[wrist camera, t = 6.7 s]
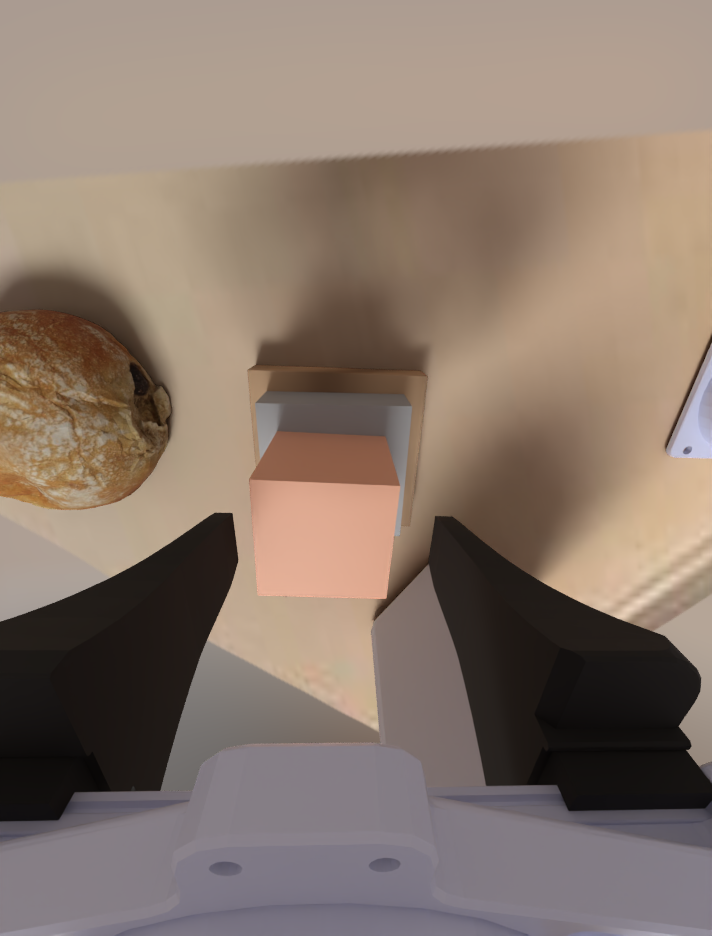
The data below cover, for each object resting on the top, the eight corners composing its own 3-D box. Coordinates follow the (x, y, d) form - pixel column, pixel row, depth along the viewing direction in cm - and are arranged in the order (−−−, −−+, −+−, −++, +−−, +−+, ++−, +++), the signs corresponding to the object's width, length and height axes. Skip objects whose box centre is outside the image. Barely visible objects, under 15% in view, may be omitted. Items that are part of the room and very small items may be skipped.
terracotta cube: (376, 526, 18) (386, 599, 14) (280, 523, 18) (257, 595, 14) (385, 436, 16) (400, 486, 12) (276, 431, 16) (249, 479, 11)
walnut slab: (418, 368, 20) (427, 376, 18) (403, 505, 24) (409, 526, 21) (258, 363, 20) (247, 370, 17) (269, 503, 23) (261, 523, 21)
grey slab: (403, 394, 18) (412, 406, 16) (394, 511, 21) (400, 535, 19) (266, 391, 18) (254, 403, 15) (275, 510, 21) (266, 534, 18)
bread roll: (204, 443, 25) (210, 468, 17) (50, 524, 22) (-15, 592, 15) (109, 299, 21) (68, 256, 14) (-92, 376, 18) (-272, 372, 11)
